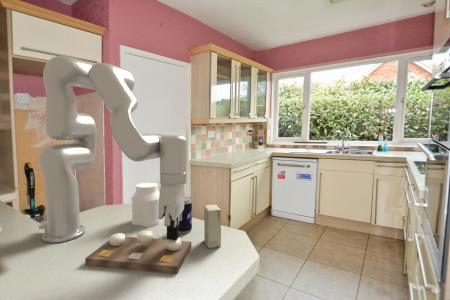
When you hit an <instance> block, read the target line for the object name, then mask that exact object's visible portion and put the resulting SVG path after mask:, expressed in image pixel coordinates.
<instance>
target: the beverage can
mask: <svg viewBox="0 0 450 300" xmlns="http://www.w3.org/2000/svg"><path fill="white" fill-rule="evenodd" d="M192 229H193V201H192V198H191V197H189V196H184V210H183V211H182V213H181V214H180V216H179V234H186V233H189V232H190V231H191V230H192Z"/></svg>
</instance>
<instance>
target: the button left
mask: <svg viewBox="0 0 450 300" xmlns="http://www.w3.org/2000/svg"><path fill="white" fill-rule="evenodd" d="M125 237H126V234H125V233H122V232H117V233H113V234H111V235H109V237H108V238H109V239H108V241H109V242H110V245H111V246H119V245H122V244H124V243H125Z"/></svg>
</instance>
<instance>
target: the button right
mask: <svg viewBox="0 0 450 300" xmlns="http://www.w3.org/2000/svg"><path fill="white" fill-rule="evenodd" d="M165 240H166V248H167V249H168V250H170V251H175V250H178V249H180V248H181V241H182V238H181V237H179V238H178V239H177V240H168V239H167V238H166V239H165Z"/></svg>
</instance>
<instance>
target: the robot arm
mask: <svg viewBox="0 0 450 300" xmlns="http://www.w3.org/2000/svg"><path fill="white" fill-rule="evenodd" d="M42 78H43V79H42V80H43V86H44V90H45V98H46V99H45V101H46V102H45V131H46V134H47V136H48V137H49V138H50V139H52V140H54V141H55V140H56V141H71V140H72V141H73V143H56V144H52V145H51V144H50V145H48V146H45V147H44V148H43V149H42V150H41V151H40V153H39V156H38V160H39V165H40V169H41V172H42V177H43V181H44V182H43V183H44V195H45V197H44V198H45V211H46V220H43V221H42V222H41V223H40V224H39V225H38V229H40V230H44V233H43V234H41V240H42V241H43V242H44V243H63V242H67V241H72V240H74V239H76V238H78V237H81V236H82V235H83V234H85V232H86V227H85V226H84V225H82V224H81V219H80V217H81V216H80V214H81V213H80V196H79V195H80V193H79V183H78V180H77V178H76V176H75V175H74V174H73V172H72V171H75V170H81V169H82V170H83V169H86V168H89V167H91V166H92V165H93V164H94V162H95V159H96V153H97V133H98V131H97V124H96V122H95V119H94V118H93V117H92V115H89V114H87V113H85V112H84V113H83V112H78V99H77V95H76V93H75V91H74V90H73V88H72V87H79V88H83V89H87V90H88V89H89V90H93V91H96V93H97V94H98V96H99V97H100V99H101V100H102V102H103V103H104V105H105V107H106V108H107V109H108V111H109V113H110V115H111V116H110V132H111V135H112V137H113V140H114V141H115V143H116V144H117V146H118V147H119V149H120V151H121V152H122V153H123V154H124V156H125V157H127V158H128V159H129V160H131V161H133V162H144V161H148V160H154V159H159V184H160V186H159V187H160V188H159V192H160V193H159V207H158V218H159V219H160V220H161V219H162V220H163V218H164V222H163V226H165V227H166V240H167V239H168V240H177V239H178V238H180V237H179V236H180V235H179V234H180V232H179V216H180V214H181V213H182V211H183V210H184V197H185V185H186V184H187V163H188V162H187V157H188V156H187V155H188V154H187V153H188V152H187V151H188V148H187V147H188V145H187V144H188V143H187V141H188V140H187V138H186V137H185V136H183V135H179V134H177V135H176V134H175V135H174V134H173V135H172V134H171V135H170V134H169V135H168V134H166V135H165V134H160V133H140V131H139V129H137V127H136V126H135V124H134V122H133V121H132V117H131V114H132V113H134V112H135V110H137V108H138V105H139V103H138V100H137V98H136V97H135V94H133V92H132V91H133V90H134V87H135V79H134V77H133V75H132V74H131V73H130V71H128V70H127V69H126V68H122V67H120V66H117V65H114V64H111V63H107V62H96V63H92V62H88V61H85V60H81V59H79V58H75V57H71V56H65V55H57V56H54V57H51V58H50V59H49V60H48V61H47V62H46V64H45V65H44V68H43V74H42Z"/></svg>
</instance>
